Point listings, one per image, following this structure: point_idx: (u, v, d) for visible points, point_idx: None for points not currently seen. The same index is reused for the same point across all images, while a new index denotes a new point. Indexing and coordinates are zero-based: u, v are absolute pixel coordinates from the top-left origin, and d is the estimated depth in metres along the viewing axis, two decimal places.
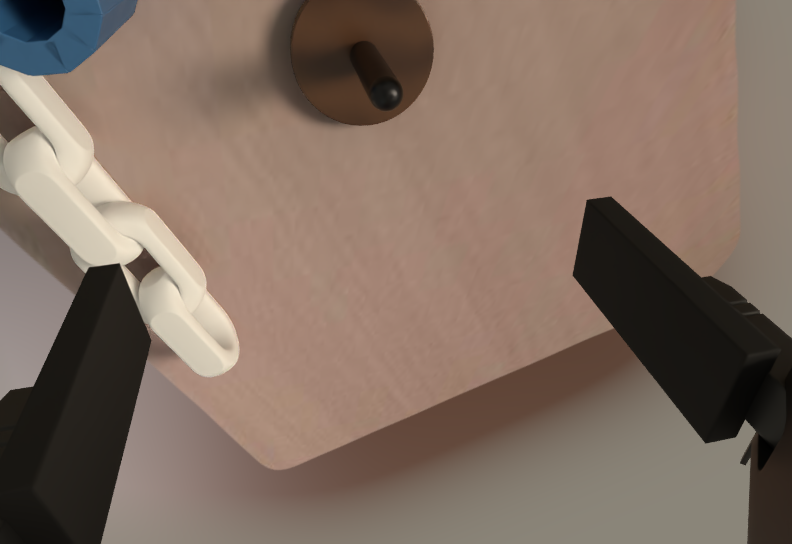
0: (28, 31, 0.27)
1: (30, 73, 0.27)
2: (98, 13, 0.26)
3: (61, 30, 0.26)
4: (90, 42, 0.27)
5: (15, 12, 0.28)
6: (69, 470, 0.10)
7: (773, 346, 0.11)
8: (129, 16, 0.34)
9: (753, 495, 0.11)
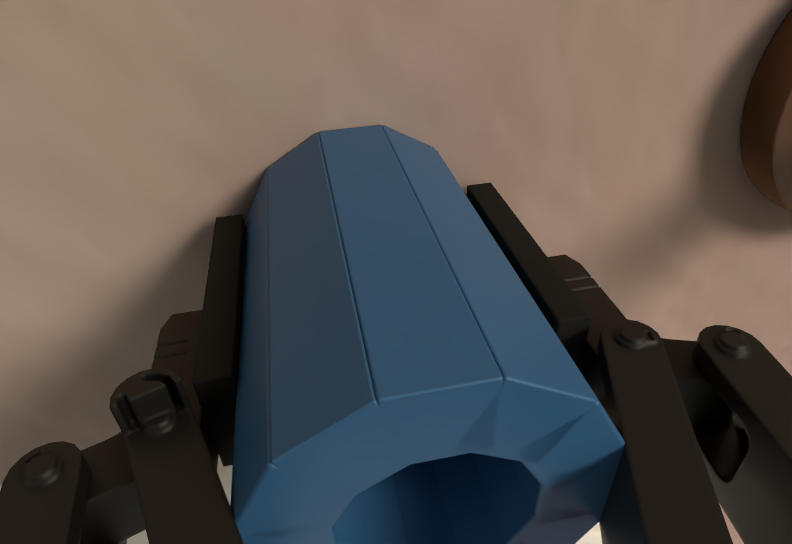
0: (425, 496, 0.12)
1: None
2: (618, 453, 0.09)
3: (536, 519, 0.10)
4: (601, 505, 0.10)
5: None
6: None
7: (585, 313, 0.12)
8: None
9: None
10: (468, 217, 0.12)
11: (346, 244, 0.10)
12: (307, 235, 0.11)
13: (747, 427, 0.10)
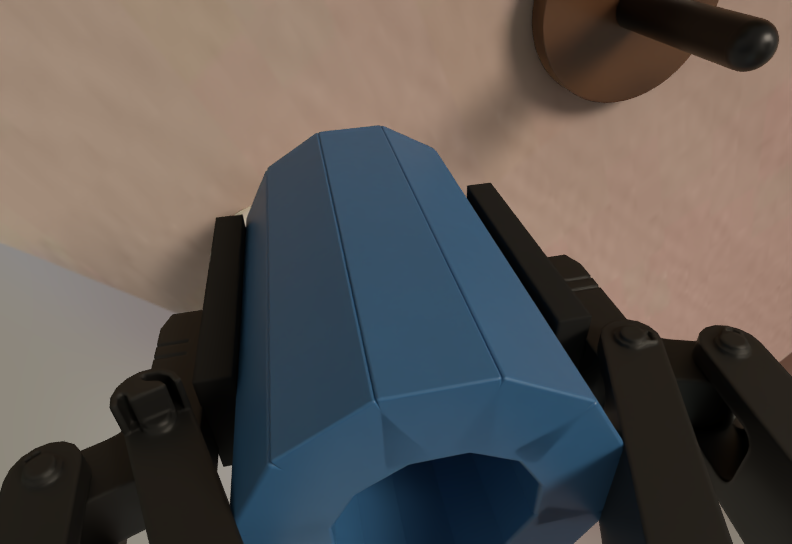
0: (424, 495, 0.12)
1: None
2: (616, 453, 0.09)
3: (535, 518, 0.10)
4: (599, 505, 0.10)
5: None
6: None
7: (585, 313, 0.12)
8: None
9: None
10: (467, 217, 0.12)
11: (345, 245, 0.10)
12: (306, 235, 0.11)
13: (747, 427, 0.10)
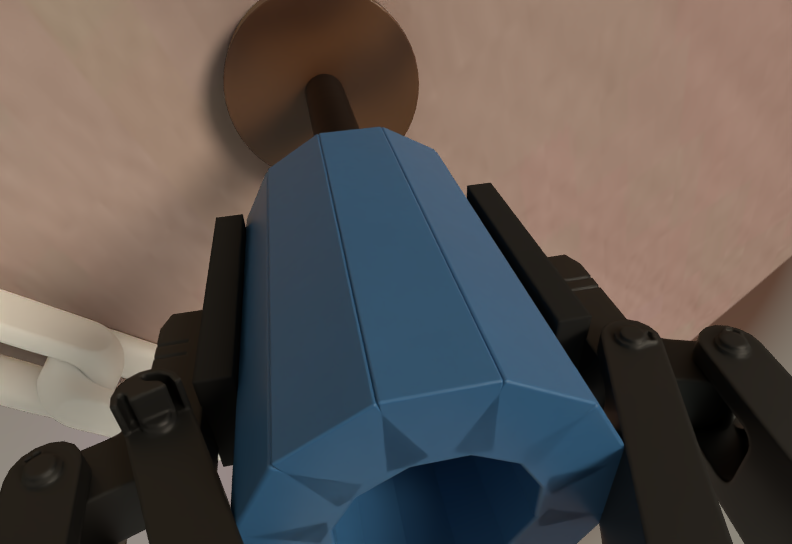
0: (425, 497, 0.12)
1: None
2: (617, 454, 0.09)
3: (536, 521, 0.10)
4: (601, 507, 0.10)
5: None
6: None
7: (585, 313, 0.12)
8: None
9: None
10: (468, 218, 0.12)
11: (347, 247, 0.10)
12: (307, 237, 0.11)
13: (747, 427, 0.10)
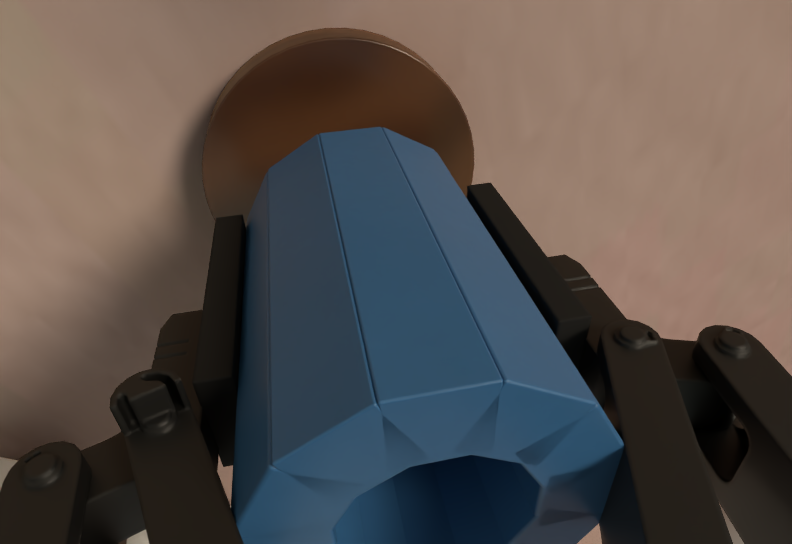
0: (425, 497, 0.12)
1: None
2: (618, 454, 0.09)
3: (536, 520, 0.10)
4: (601, 507, 0.10)
5: None
6: None
7: (586, 313, 0.12)
8: None
9: None
10: (468, 218, 0.12)
11: (346, 246, 0.10)
12: (307, 237, 0.11)
13: (747, 427, 0.10)
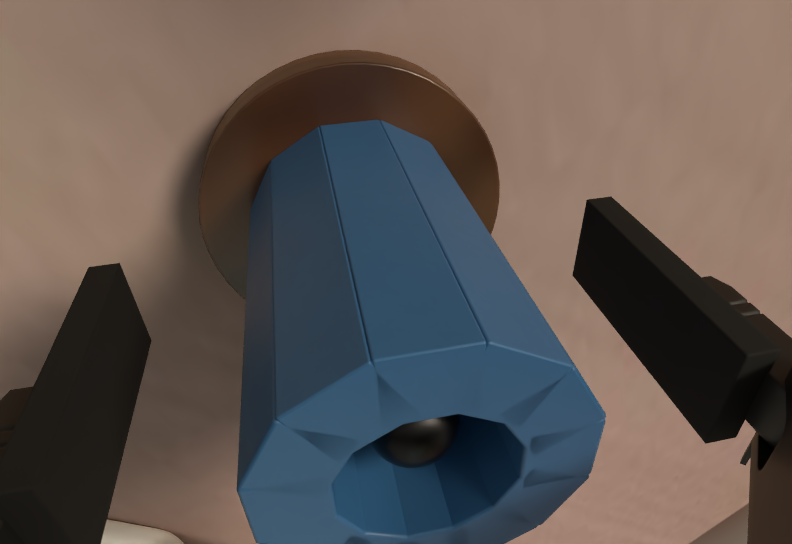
0: None
1: None
2: (596, 418, 0.10)
3: (521, 481, 0.11)
4: (581, 469, 0.11)
5: None
6: (69, 470, 0.10)
7: (773, 346, 0.11)
8: None
9: (753, 495, 0.11)
10: (460, 204, 0.13)
11: (345, 227, 0.11)
12: (308, 220, 0.12)
13: None
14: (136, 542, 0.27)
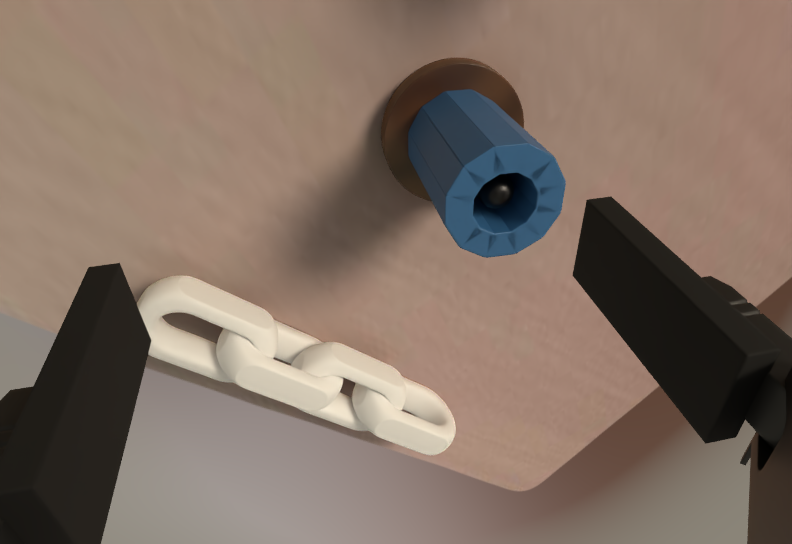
0: (495, 218, 0.32)
1: (515, 252, 0.32)
2: (562, 182, 0.30)
3: (536, 209, 0.30)
4: (557, 207, 0.30)
5: None
6: (69, 470, 0.10)
7: (773, 346, 0.11)
8: None
9: (753, 495, 0.11)
10: (511, 119, 0.33)
11: (472, 121, 0.31)
12: (454, 122, 0.32)
13: None
14: (307, 339, 0.46)
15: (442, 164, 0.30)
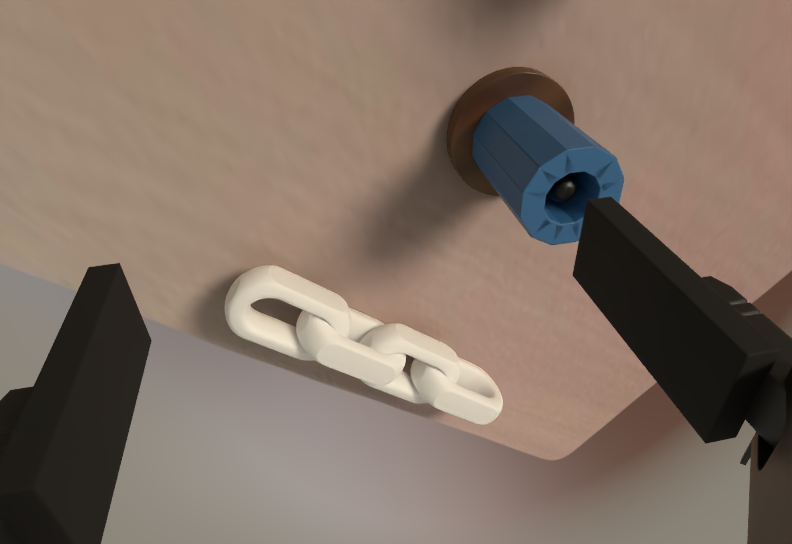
0: (559, 211, 0.37)
1: (577, 239, 0.36)
2: (621, 179, 0.34)
3: None
4: (616, 200, 0.35)
5: None
6: (69, 470, 0.10)
7: (773, 346, 0.11)
8: None
9: (753, 495, 0.11)
10: (571, 123, 0.37)
11: (540, 126, 0.35)
12: (523, 126, 0.36)
13: None
14: (371, 321, 0.51)
15: (516, 164, 0.35)
